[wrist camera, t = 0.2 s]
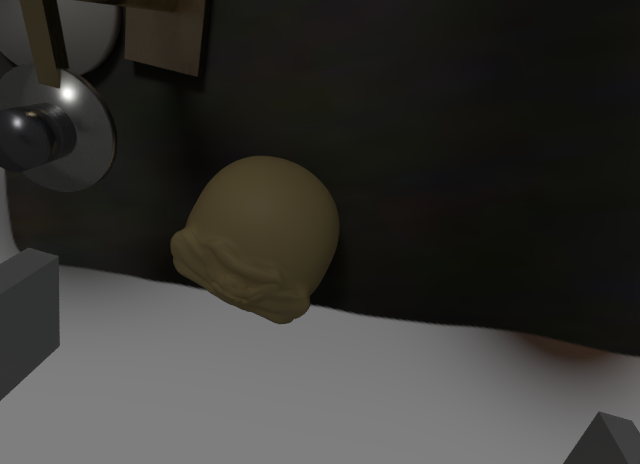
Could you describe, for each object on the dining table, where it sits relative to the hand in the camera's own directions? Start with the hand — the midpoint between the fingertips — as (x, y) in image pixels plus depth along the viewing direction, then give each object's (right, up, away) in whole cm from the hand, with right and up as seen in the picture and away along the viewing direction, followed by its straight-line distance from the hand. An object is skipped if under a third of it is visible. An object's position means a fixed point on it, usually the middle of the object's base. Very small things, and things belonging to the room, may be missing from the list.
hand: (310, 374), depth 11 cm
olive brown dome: (-3, +5, +29) cm, 30 cm away
